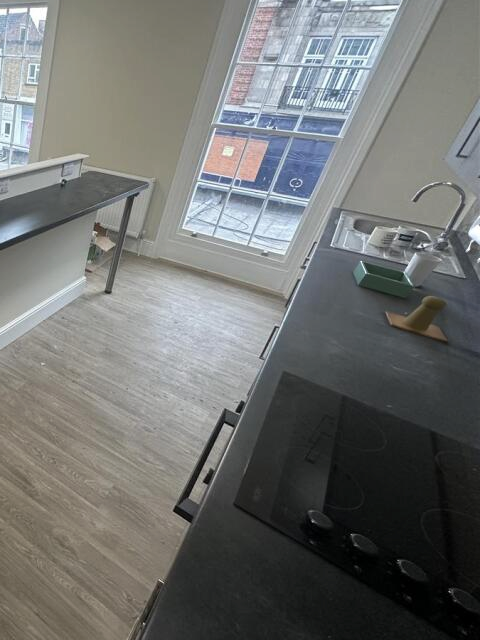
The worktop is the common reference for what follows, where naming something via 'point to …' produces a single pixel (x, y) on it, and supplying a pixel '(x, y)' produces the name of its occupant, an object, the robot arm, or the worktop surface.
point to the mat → (399, 322)
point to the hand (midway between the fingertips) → (474, 258)
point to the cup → (421, 267)
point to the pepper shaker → (425, 313)
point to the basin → (383, 279)
